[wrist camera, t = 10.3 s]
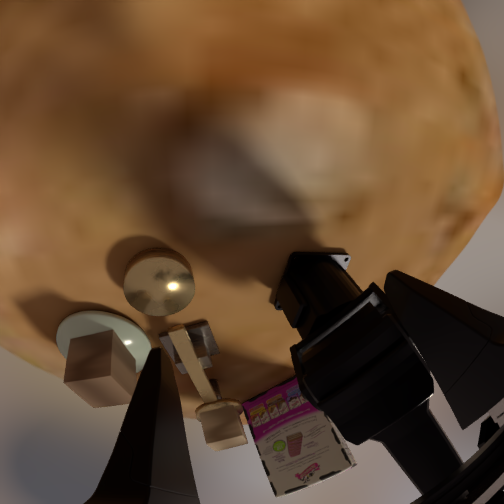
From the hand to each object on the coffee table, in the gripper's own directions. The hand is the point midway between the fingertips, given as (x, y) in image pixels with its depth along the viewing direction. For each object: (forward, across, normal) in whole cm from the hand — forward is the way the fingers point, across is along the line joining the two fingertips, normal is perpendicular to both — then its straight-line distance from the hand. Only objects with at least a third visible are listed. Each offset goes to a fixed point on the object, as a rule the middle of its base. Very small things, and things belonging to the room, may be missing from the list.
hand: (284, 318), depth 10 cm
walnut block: (+11, +15, +12) cm, 22 cm away
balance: (+12, +6, +15) cm, 20 cm away
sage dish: (+12, +15, +12) cm, 22 cm away
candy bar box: (+12, -2, +33) cm, 35 cm away
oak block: (+7, +6, +24) cm, 26 cm away
